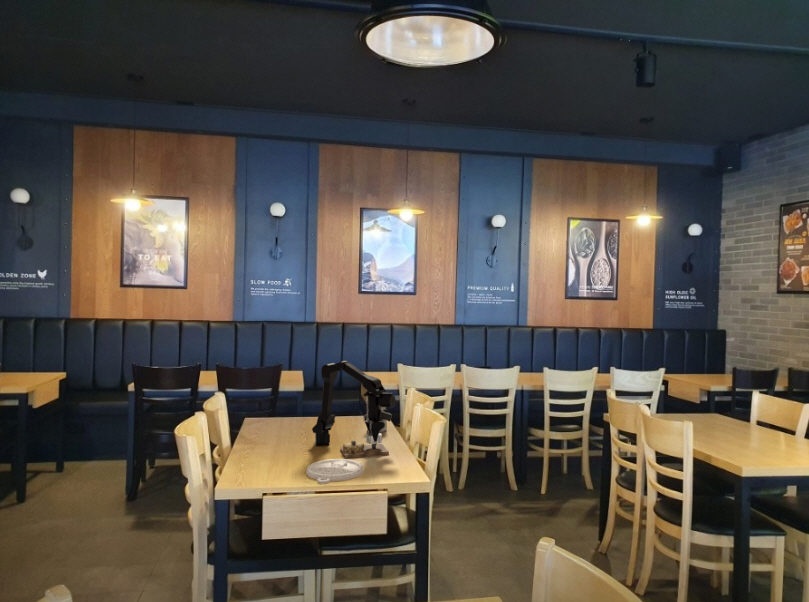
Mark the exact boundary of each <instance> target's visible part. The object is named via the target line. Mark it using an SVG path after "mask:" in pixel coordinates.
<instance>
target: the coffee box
mask: <svg viewBox="0 0 809 602" xmlns="http://www.w3.org/2000/svg"><path fill="white" fill-rule="evenodd" d="M367 408H368V400H367V401H366V414H368V410H367ZM380 409H381V410H382V411H383V410H384V409H386V410H387V407H381V406H380ZM381 421H382V422H383V423H384V424H385V428H383V429H381V430H380V431H379V433H383V432H385V431H387V427H388V426H387V425H388V424H387V422H388V421H387V420H384V419H382V420H381ZM366 431H368V429H367V428H366ZM368 432H369V431H368Z"/></svg>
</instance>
